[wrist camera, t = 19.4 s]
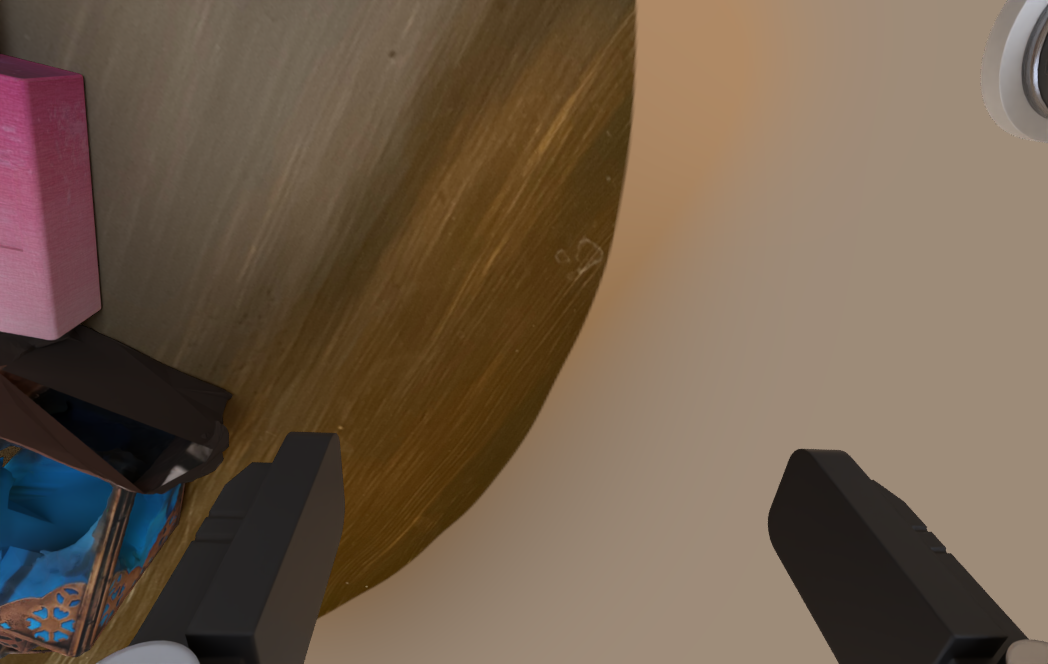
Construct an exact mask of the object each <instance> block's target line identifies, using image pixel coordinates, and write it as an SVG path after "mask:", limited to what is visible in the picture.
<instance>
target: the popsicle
mask: <svg viewBox="0 0 1048 664" xmlns="http://www.w3.org/2000/svg"><path fill="white" fill-rule="evenodd" d="M100 309H101V298H100V285H99V273H98V260H97V247H96V235H95V222H94V209H93V197H92V184H91V171H90V159H89V146H88V133H87V121H86V108H85V95H84V83H83V76H82V75H81V74H78V73H74V72H70V71H67V70H63V69H59V68H55V67H51V66H47V65H43V64H39V63H35V62H31V61H27V60H23V59H19V58H15V57H11V56H7V55H3V54H0V331H1V332H6V333H12V334H17V335H23V336H28V337H34V338H40V339H45V340H56V339H58V338H60V337H61V336H63V335H64V334H66V333H67V332H68V331H70V330H71V329H73V328H74V327H76V326H77V325H79V324H80V323H82V322H83V321H84V320H86V319H87V318H89V317H90V316H92V315H93V314H95V313H96V312H98V311H99V310H100Z"/></svg>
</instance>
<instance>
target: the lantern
mask: <svg viewBox="0 0 1048 664" xmlns="http://www.w3.org/2000/svg"><path fill="white" fill-rule="evenodd" d="M231 398H232V394H231V393H229V392H227V391H226V390H224V389H222V388H219V387H216V386H214V385H211V384H208V383H206V382H203V381H201V380H198V379H196V378H193V377H191V376H189V375H186V374H184V373H182V372H180V371H177V370H175V369H173V368H171V367H168V366H166V365H164V364H162V363H159V362H158V361H156V360H154V359H152V358H150V357H148V356H145V355H143V354H141V353H139V352H138V351H136V350H134V349H132V348H130V347H128V346H126V345H124V344H122V343H120V342H117V341H115V340H113V339H111V338H109V337H107V336H104V335H102V334H100V333H98V332H96V331H94V330H92V329H89V328H87V327H85V326H82V325H77V326H76V327H74V328H73V329H71V330H70V331H68V332H67V333H66V334H64V335H63V336H61V337H60V338H58V339H56V340H45V339H40V338H34V337H28V336H23V335H17V334H12V333H6V332H1V331H0V450H3V449H5V448H7V447H8V446H15V447H20V448H21V449H20V450H19V451H18V452H17V453H16V454H15V455H14V456H13V457H12V458H11V460H10V461H9V462H8V463H7V464H6V465H5V466H4V467H2V465H3V459H4V457H1V458H0V658H3V657H5V656H6V655H7V654H13V653H16V654H18V653H19V654H24V653H26V654H27V653H28V654H29V653H41V652H42V653H45V652H58V653H60V654H63V655H66V656H71V657H78V656H80V655H82V654H83V653H84V652H86V651H88V650H90V649H91V647H92V646H93V645H94V643H95V641H96V640H97V638H98V637H99V636H100V634H101V632H102V631H103V630H104V628H105V627H106V625H107V624H108V622H109V621H110V620H111V619H112V617H113V616H114V615H115V613H116V612H117V610H118V608H119V607H120V605H121V604H122V602H123V600H124V599H125V598H126V596H127V595H128V594H129V593H130V592H131V590H132V589H133V587H134V586H135V584H136V583H137V581H138V580H139V579H140V577H141V576H142V574H143V573H144V571H145V570H146V568H147V567H148V566H149V564H150V563H151V562H152V560H153V559H154V557H155V555H156V554H157V553H158V551H159V550H160V549H161V547H162V546H163V544H164V543H165V542H166V540H167V539H168V537H169V536H170V534H171V533H172V532H173V531H174V529H175V527H176V526H177V525H178V523H179V519H180V513H181V507H182V501H183V494H184V487H185V483H186V482H192V481H194V480H195V479H197V478H200V477H202V476H205V475H208V474H209V473H211V472H213V471H215V470H216V468H217V467H218V466H219V465H220V464H221V463H222V461H223V459H224V458H223V453H222V452H223V451H225V450H226V449H227V448H228V447H229V433H228V430H227V428H226V427H225V426H224V425H223V417H222V414H223V411H224V408H225V405H226V402H227V400H229V399H231ZM38 646H41V647H45V648H48V649H50V650H43V651H41V650H38V651H37V650H32V649H34V648H36V647H38Z"/></svg>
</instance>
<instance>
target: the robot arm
mask: <svg viewBox="0 0 1048 664" xmlns="http://www.w3.org/2000/svg"><path fill="white" fill-rule="evenodd" d="M1022 86H1023V90H1024V94H1025V97H1026V99H1027V101H1028V103H1029V104H1030V106H1031V107H1032V108H1033V110H1034V111H1035V112H1037V113H1038V114H1039V115H1040V116H1042V117H1044V118H1046V119H1048V4H1047V6H1046V7H1045V9H1044V10H1043V12H1042V13H1041V15H1040V17H1039V18H1038V20H1037V22H1036V24H1035V26H1034V28H1033V30H1032V32H1031V34H1030V37H1029V39H1028V42H1027V45H1026V48H1025V52H1024V57H1023V62H1022ZM344 512H345V499H344V487H343V475H342V463H341V451H340V441H339V437H338V435H337V434H336V433H315V432H290V433H288V435H287V436H286V438H285V439H284V441H283V443H282V445H281V447H280V449H279V451H278V453H277V455H276V457H275V459H274V461H273V463H258V462H252V463H251V464H250V465H248V466H247V467H246V468H245V469H244V470H242V471H241V472H240V473H239V474H238V475H236V476H235V477H234V478H233V479H232V480H230V481H229V482H228V483H227V484H226V485H225V486H224V488H223V489H222V491H221V493H220V495H219V496H218V498H217V500H216V501H215V503H214V505H213V506H212V508H211V510H210V511H209V517H206V518H205V520H204V521H203V523H202V525H201V527H200V528H199V530H198V532H197V533H196V538H195V541H192V542H191V543H190V545H189V547H188V548H187V550H186V552H185V553H184V555H183V557H182V559H181V560H180V562H179V564H178V565H177V567H176V569H175V570H174V572H173V574H172V575H171V577H170V579H169V580H168V582H167V584H166V585H165V587H164V589H163V591H162V592H161V594H160V596H159V597H158V599H157V601H156V602H155V604H154V606H153V607H152V609H151V611H150V612H149V614H148V616H147V617H146V619H145V621H144V623H143V624H142V626H141V628H140V629H139V631H138V633H137V634H136V636H135V637H134V639H133V640H132V642H131V643H130V644H129V646H128V647H126V648H124V649H122V650H119V651H117V652H115V653H113V654H111V655H109V656H107V657H106V658H104V659H102V660H100V661H99V662H98V663H96V664H304V660H305V656H306V653H307V650H308V647H309V643H310V640H311V637H312V633H313V630H314V626H315V623H316V620H317V617H318V613H319V610H320V606H321V603H322V600H323V596H324V593H325V590H326V586H327V583H328V579H329V576H330V573H331V569H332V566H333V563H334V559H335V556H336V553H337V549H338V546H339V542H340V539H341V534H342V529H343V523H344ZM926 528H927V527H926V525H925V524H924V523H923V522H922V521H921V520H920V519H919V518H918V517H917V515H916V514H915V513H914V512H913V511H912V510H911V509H910V508H909V507H908V506H907V504H906V503H905V502H904V501H902V500H901V499H900V498H898V497H897V496H895V495H894V494H893V493H891V492H890V491H888V490H887V489H886V488H884V487H883V486H881V485H880V484H878V483H877V482H876V481H874V480H871V479H870V478H869V477H868V476H867V475H866V474H865V473H864V471H863V470H862V469H861V468H860V467H859V466H858V465H857V464H856V462H855V461H854V460H853V459H852V458H851V457H850V456H849V455H848V454H847V453H846V452H844V451H841V450H819V449H818V450H817V449H798V450H796V451H795V452H794V453H793V454H792V455H791V457H790V459H789V461H788V464H787V466H786V469H785V472H784V474H783V477H782V480H781V482H780V485H779V488H778V490H777V493H776V495H775V498H774V500H773V503H772V506H771V508H770V512H769V516H768V531H769V536H770V540H771V543H772V545H773V547H774V549H775V551H776V553H777V555H778V556H779V558H780V560H781V562H782V563H783V565H784V567H785V569H786V570H787V572H788V574H789V576H790V578H791V579H792V581H793V583H794V585H795V587H796V588H797V590H798V592H799V594H800V595H801V597H802V599H803V601H804V602H805V604H806V606H807V608H808V609H809V611H810V613H811V614H812V617H813V618H814V620H815V622H816V624H817V625H818V627H819V629H820V631H821V632H822V634H823V636H824V638H825V640H826V641H827V643H828V645H829V647H830V648H831V650H832V652H833V653H834V655H835V657H836V659H837V661H838V663H839V664H1048V643H1047V642H1044V641H1038V640H1029V639H1028V638H1027V637H1026V636H1025V635H1024V633H1023V632H1022V631H1021V630H1020V629H1019V628H1018V627H1017V626H1016V625H1015V624H1014V623H1013V622H1012V620H1011V619H1010V618H1009V617H1008V616H1007V615H1006V614H1005V612H1004V611H1003V610H1002V609H1001V608H1000V607H999V606H998V605H997V604H996V603H995V602H994V600H993V599H992V598H991V597H990V596H989V595H988V594H987V593H986V592H985V590H983V588H982V587H981V586H980V585H979V584H978V583H977V582H976V581H975V579H974V578H973V577H972V576H971V575H970V574H969V573H968V572H967V571H966V569H965V568H964V567H963V566H962V565H961V564H960V563H959V562H958V561H957V560H956V558H955V557H954V556H953V555H952V554H951V553H950V554H949V553H946V547H945V546H944V545H943V544H942V543H941V542H940V541H939V540H938V539H937V538H936V536H935V535H934V534H933V533H932V532H928V531H927V529H926Z"/></svg>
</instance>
